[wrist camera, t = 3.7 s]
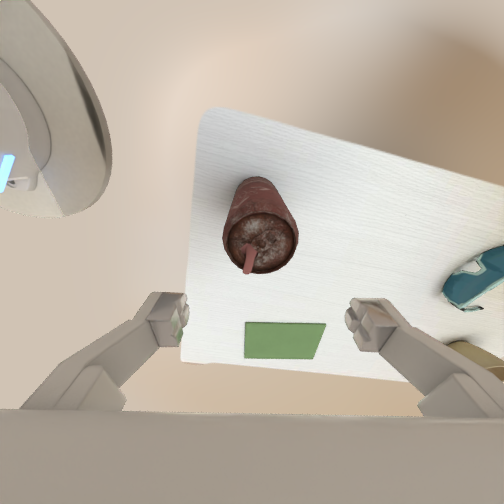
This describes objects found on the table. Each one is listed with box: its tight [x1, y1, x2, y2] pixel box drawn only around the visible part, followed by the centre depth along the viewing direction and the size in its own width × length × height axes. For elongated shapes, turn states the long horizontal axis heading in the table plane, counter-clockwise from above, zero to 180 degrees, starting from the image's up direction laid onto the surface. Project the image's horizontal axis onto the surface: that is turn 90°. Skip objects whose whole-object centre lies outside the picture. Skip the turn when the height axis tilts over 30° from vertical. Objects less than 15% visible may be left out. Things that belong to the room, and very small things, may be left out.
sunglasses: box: [442, 246, 504, 312], centre depth 32 cm, size 14×15×5 cm
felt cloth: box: [245, 322, 326, 359], centre depth 43 cm, size 18×14×1 cm
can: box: [222, 177, 299, 274], centre depth 19 cm, size 6×6×14 cm
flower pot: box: [447, 341, 504, 382], centre depth 42 cm, size 10×10×7 cm
